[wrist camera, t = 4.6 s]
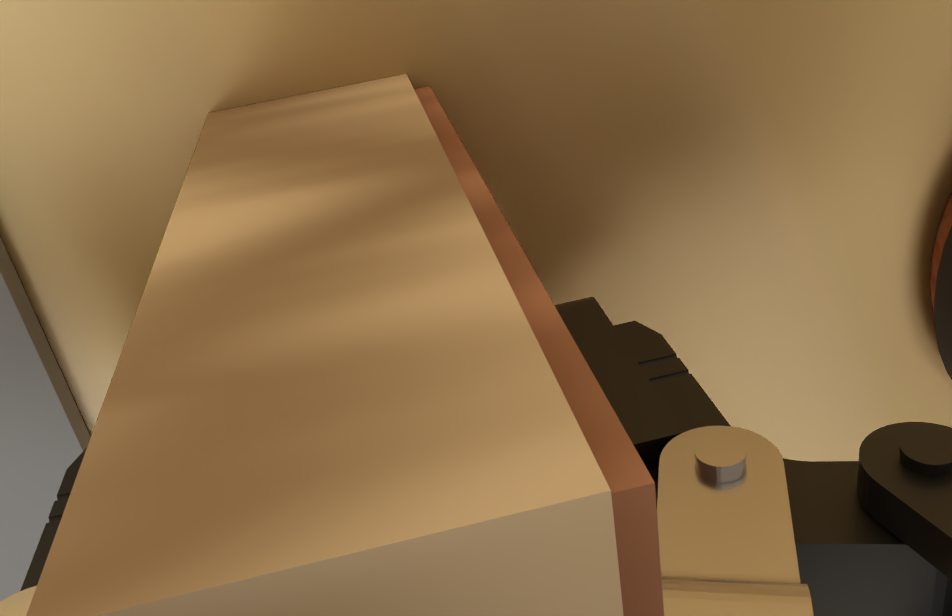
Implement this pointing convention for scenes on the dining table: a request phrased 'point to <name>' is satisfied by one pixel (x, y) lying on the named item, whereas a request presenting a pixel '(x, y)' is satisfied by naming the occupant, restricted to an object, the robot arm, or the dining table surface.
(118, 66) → the dining table surface
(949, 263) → the mug
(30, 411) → the mat
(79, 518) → the wooden block
